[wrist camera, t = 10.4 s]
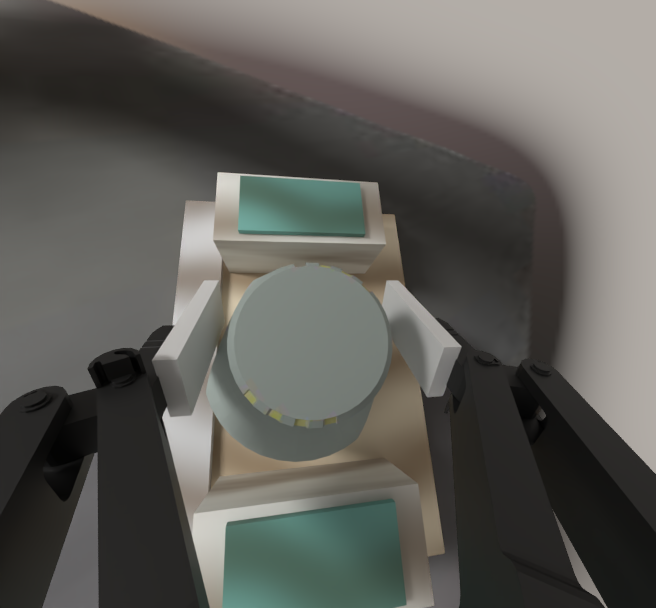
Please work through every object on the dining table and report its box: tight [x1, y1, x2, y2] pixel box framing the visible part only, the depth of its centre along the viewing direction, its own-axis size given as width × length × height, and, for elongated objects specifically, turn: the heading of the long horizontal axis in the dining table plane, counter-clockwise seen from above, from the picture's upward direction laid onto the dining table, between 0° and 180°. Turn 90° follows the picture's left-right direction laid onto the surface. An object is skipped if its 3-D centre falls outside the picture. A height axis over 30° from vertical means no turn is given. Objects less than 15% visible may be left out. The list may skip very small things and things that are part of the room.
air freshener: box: [206, 263, 392, 462], centre depth 14 cm, size 11×8×10 cm
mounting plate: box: [163, 172, 445, 608], centre depth 17 cm, size 26×18×6 cm
